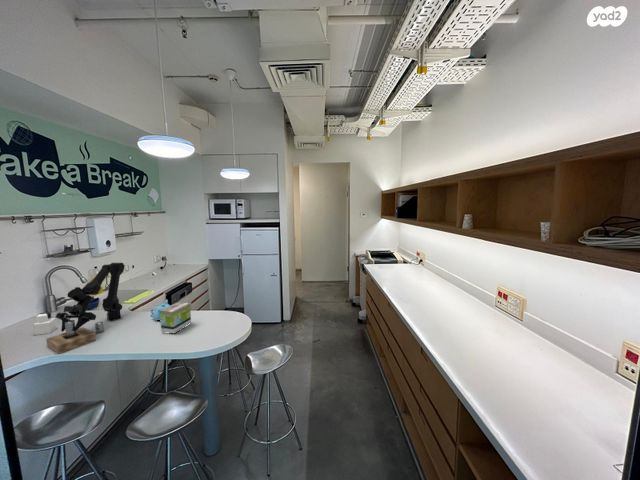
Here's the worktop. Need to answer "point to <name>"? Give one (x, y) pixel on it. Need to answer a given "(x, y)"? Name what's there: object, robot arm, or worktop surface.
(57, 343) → the plate
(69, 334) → the long pin
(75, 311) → the robot arm
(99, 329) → the short pin
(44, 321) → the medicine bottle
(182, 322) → the tea box
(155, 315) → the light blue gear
